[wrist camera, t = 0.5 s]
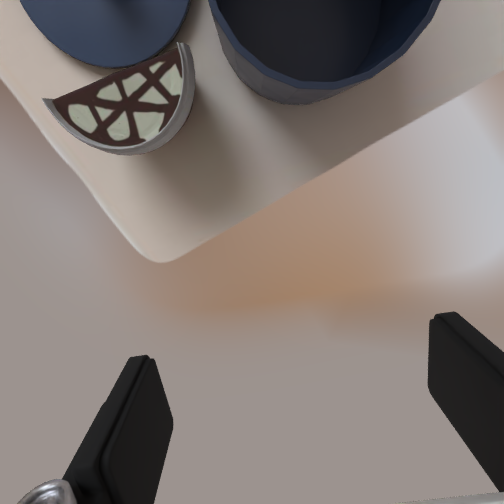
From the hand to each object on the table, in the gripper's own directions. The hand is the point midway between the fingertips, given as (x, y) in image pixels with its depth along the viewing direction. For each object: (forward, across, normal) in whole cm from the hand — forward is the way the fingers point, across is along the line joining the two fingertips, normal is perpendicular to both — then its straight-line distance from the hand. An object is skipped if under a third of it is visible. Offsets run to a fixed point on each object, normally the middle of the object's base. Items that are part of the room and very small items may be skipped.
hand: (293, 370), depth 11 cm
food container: (+29, +9, -11) cm, 32 cm away
